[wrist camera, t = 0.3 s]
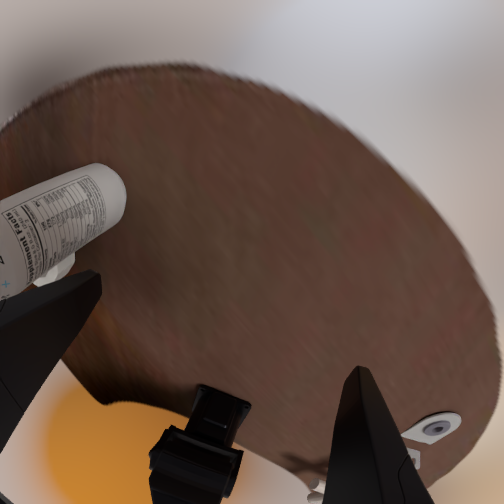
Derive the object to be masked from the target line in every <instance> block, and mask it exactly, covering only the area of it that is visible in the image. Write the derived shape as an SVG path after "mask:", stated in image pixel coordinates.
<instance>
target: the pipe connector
mask: <svg viewBox="0 0 504 504" xmlns="http://www.w3.org/2000/svg"><path fill="white" fill-rule="evenodd" d="M325 485H326V481H323V480H321V479H319V478H315V479H313V480H312V481H311V482H310V485H309V487H310V489H312V490H314V491H317V492H315V493H310V494H309V495H308V497H307V500H308V502H309V503H318V502H322V501H323V496H324V490H325Z"/></svg>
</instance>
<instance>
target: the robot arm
mask: <svg viewBox="0 0 504 504" xmlns="http://www.w3.org/2000/svg"><path fill="white" fill-rule="evenodd" d="M101 295H102V284H101V275H100V274H99V273H98V272H96V271H94V270H91V269H89V270H86V271H83V272H80V273H77V274H74V275H71V276H68V277H65V278H62V279H59V280H57V281H54V282H51V283H48V284H45V285H42V286H39V287H37V288H34V289H31V290H28V291H25V292H23V293H20V294H17V295H14V296H11V297H9V298H7V299H3V300H0V453H1V452H2V450H3V448H4V447H5V445H6V443H7V442H8V440H9V438H10V436H11V435H12V433H13V431H14V429H15V428H16V426H17V425H18V423H19V421H20V420H21V418H22V416H23V415H24V412H25V411H26V410H27V408H28V406H29V405H30V403H31V402H32V400H33V399H34V397H35V395H36V394H37V392H38V391H39V389H40V388H41V386H42V384H43V383H44V382H45V380H46V379H47V377H48V376H49V374H50V373H51V371H52V370H53V368H54V367H55V365H56V364H57V362H58V361H59V360H60V358H61V357H62V355H63V354H64V353H65V351H66V350H67V348H68V347H69V346H70V344H71V343H72V341H73V340H74V339H75V337H76V336H77V335H78V333H79V332H80V330H81V329H82V327H83V326H84V324H85V322H86V321H87V319H88V317H89V315H90V314H91V312H92V310H93V309H94V307H95V305H96V304H97V302H98V301H99V299H100V297H101ZM251 406H252V405H251V404H250V403H248V402H245V401H243V400H240V399H237V398H235V397H232V396H229V395H227V394H224V393H222V392H219V391H217V390H214V389H212V388H209V387H207V386H204V385H200V387H199V389H198V392H197V395H196V398H195V401H194V404H193V408H192V412H193V413H192V415H191V417H190V419H189V422H188V423H187V425H186V428H185V430H181V429H179V428H176V426H173V425H171V426H170V427H169V429H165V430H164V432H163V434H162V436H161V438H160V440H159V441H158V442H157V443H156V444H155V446H154V447H153V448H152V449H151V450H150V452H149V457H150V466H149V469H150V470H152V472H151V475H150V477H149V485H150V490H151V496H152V501H153V504H220V503H221V500H222V498H223V497H225V498H228V497H229V496H230V494H231V492H232V489H233V487H234V484H235V482H236V479H237V475H238V471H239V468H240V464H241V460H242V456H243V452H244V451H242V450H237V449H233V448H231V447H232V444H233V441H234V438H235V435H236V432H237V429H238V428H239V427H240V425H241V424H242V422H243V420H244V419H245V417H246V416H247V414H248V412H249V411H250V409H251ZM408 453H409V452H408V450H407V448H406V446H405V443H404V441H403V439H402V437H401V435H400V432H399V430H398V428H397V426H396V424H395V422H394V419H393V417H392V415H391V413H390V411H389V409H388V407H387V405H386V403H385V400H384V398H383V396H382V394H381V392H380V390H379V388H378V386H377V384H376V382H375V380H374V378H373V376H372V374H371V372H370V370H369V369H368V368H366V367H362V366H356V367H355V368H354V369H353V371H352V372H351V373H350V375H349V376H348V377H347V379H346V380H345V383H344V386H343V390H342V395H341V399H340V404H339V408H338V412H337V416H336V420H335V425H334V431H333V439H332V446H331V453H330V460H329V467H328V473H327V479H326V485H325V490H324V496H323V501H322V504H435V503H434V502H433V500H432V498H431V496H430V494H429V493H428V491H427V489H426V487H425V485H424V483H423V482H422V480H421V478H420V476H419V474H418V472H417V470H416V468H415V465H414V463H413V461H412V459H411V456H410V455H409V454H408ZM0 504H13V503H12V502H11V501H10V500H9V499H7V498H6V497H5V496H4V495H3V494H2V493H1V492H0Z"/></svg>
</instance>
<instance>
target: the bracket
mask: <svg viewBox="0 0 504 504" xmlns="http://www.w3.org/2000/svg"><path fill="white" fill-rule="evenodd" d="M460 423H461V417H460V416H459V415H458V414H455V413H440V414H435V415H432V416H429V417H427V418H425V419H423V420H421V421H419V422H418V423H416V424H415V425H413V426H412V427H411V428H409V429H408V430H406V431H405V432H403V433H402V434H401V436H402V437H405V438H408V439H412V440H415V441H419V442H425V443H427V444H432V443H434V442H436V441H437V440H439V439H441V438H442V437H444V436H446V435H447V434H449V433H451V432H452V431H454V430H455V429H456V428H458V426H459V425H460ZM436 427H439V428H436ZM434 428H435V429H434ZM407 450H408V452H409V453H408V454H409V455H410V456H411V459H412V458H414V460H415V463H414V465H415V468H416V469H419V468H420V451H417V450H413V449H408V448H407Z"/></svg>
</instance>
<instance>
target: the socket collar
mask: <svg viewBox="0 0 504 504" xmlns="http://www.w3.org/2000/svg"><path fill="white" fill-rule="evenodd" d="M74 261H75V252H74V253H72V254H71V255H70V256H68V257H67V258H65V259H64V260H63V261H61V262H60V263H58V264H57V265H56V266H54V267H53V268H52V269H50V270H49V271H47V272H46V273H45V274H43V275H42V276H41V277H39V278H38V279H37V280H35V281H34V282H33V284H35V285H36V286H38V287H39V286H42V285H45V284H48V283H51V282H54V281H57V280H59V279H61V278H62V277H64V276H65V275H66V274H67V273H68V272H69V270H70V269H71V267H72V266H73V264H74Z"/></svg>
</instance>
